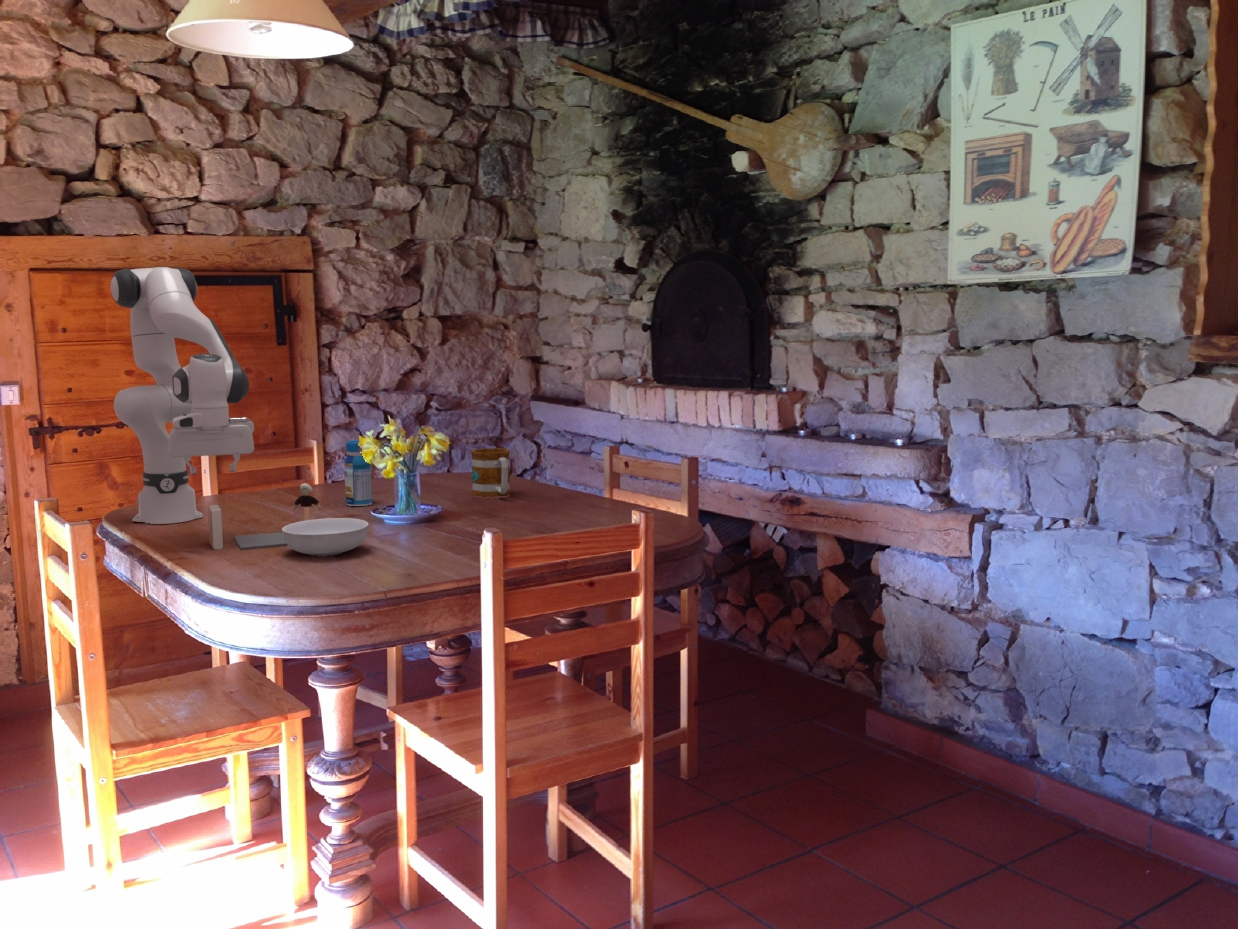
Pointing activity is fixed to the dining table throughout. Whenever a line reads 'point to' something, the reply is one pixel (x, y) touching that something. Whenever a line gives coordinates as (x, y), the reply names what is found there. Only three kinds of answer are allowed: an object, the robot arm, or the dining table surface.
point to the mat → (260, 540)
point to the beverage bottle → (357, 477)
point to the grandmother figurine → (306, 503)
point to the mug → (490, 472)
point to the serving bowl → (325, 535)
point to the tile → (215, 527)
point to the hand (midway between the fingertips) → (213, 472)
